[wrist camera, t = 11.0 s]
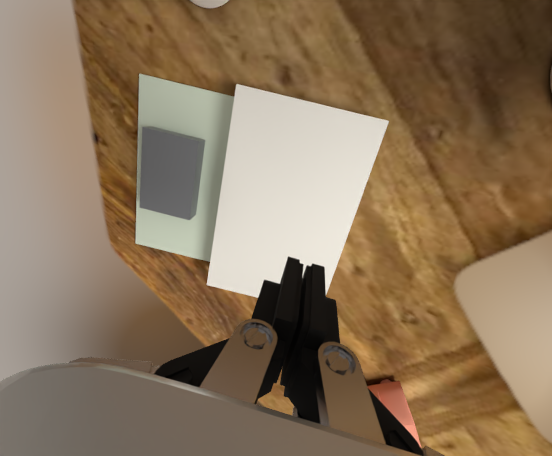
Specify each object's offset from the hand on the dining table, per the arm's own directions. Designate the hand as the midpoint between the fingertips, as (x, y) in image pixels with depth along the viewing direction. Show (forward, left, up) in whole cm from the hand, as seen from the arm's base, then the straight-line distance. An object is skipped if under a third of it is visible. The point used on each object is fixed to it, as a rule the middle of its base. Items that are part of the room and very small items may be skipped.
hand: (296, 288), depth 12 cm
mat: (+3, -14, -20) cm, 25 cm away
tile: (+2, -15, -18) cm, 23 cm away
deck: (+3, -1, -20) cm, 21 cm away
